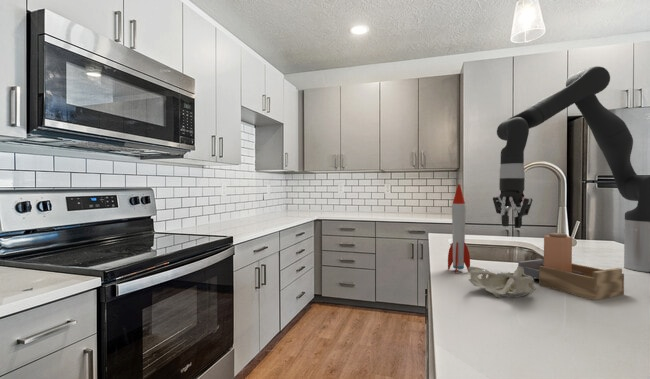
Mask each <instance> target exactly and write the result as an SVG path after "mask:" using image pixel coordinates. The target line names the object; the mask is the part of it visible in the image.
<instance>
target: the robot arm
mask: <svg viewBox="0 0 650 379" xmlns="http://www.w3.org/2000/svg"><path fill="white" fill-rule="evenodd" d="M610 81H611V75H610V72H609V70H608V69H607V68H605V67H604V66H598V65H597V66H591V67H588V68H585V69H583V70H580V71H578V72H575V73H573V74H571V75H570V76H568V78H567V79H566V83H565V87H564V88H562V89H560V90H558V91H556V92H554V93H552V94H550V95H548V96H546V97H544V98H542V99H540V100H538V101H536V102H534V103H532V105H530V106H528V107H527V108H526V109H524V110H522V111H520V112H519V113H517V114H515V115H513V116H511V117H509V118H507V119H505V120H504V121H502V122H501V123H500V124H499V125H498V126H497V128H496V135H497V137H498V139H500V140H503V141H505V142H506V145H505V146H504V147H503V148H501V150H500V162H499V163H500V167H499V186H498V187H499V191H500V194H499V196H496V197H495V196H493V198H492V201H493V205H494V208H495V212H496V214H499V215H501V225H502V227H505V228H506V227H509V225H510V216H509V214H510V211H511V210H512V211H513V213H514V217H513V218H514V220H513V221H514V223H513V224H514V225H513V226H514V227H513V228H515V229H521V227H522V226H523V217H524V216H528V215H529V212H530V209H531V206H532V203H533V198H531V197H526V196H525V194H524V191H525V176H526V175H525V173H526V172H525V171H526V170H525V149H526V146H527V142H528V137H529V135H530V134H529V133H530V132H529V131H530V129H532V128H535V127H537V126H539V125H542V124H543V123H544V122H546V121H549V119H551V118H553V117H554V116H556V115H557V114H559V113H560V112H562V111H564V110H566V109H567V108H569V107H570V106H572V105H575V106H576V107H577V109H578V110H579V112H580V113H581V115H582V118H584V121H585V122H586V124H587V126H588V128H589V129H590V131H591V133H592V135H593V137H594V139H595V141H596V143H597V145H598V147H599V149H600V151H601V153H602V154H603V156H604V158H605V160H606V162H607V165H608V166H609V169H610V171H611V174H612V176H613V180H614V182H615V185H616V188H617V190H618V192H619V194H620V195H621V197H622V198H624V199H625V200H627V201H633V202H637V204H636V205H637V206H636V207H634V208H632V209H631V210H628V211H626V212H625V213H624V239H623V240H624V242H623V244H624V246H623V252H624V253H623V267H624V268H625V269H628V270H632V271H637V272H644V273H645V272H646V273H650V174H637V172H636V171H635V169H634V167H633V166H632V163H631V162H632V161H631V154H632V152H633V148H634V147H633V146H634V139H633V136H632V134H631V131H630V129H629V128H628V126H627V124H626V123H625V121H624V120H623V119H622V118H620V117H619V116H618V115H617V114H615V113H614V112H612V111H611V110H609V109H608V108H606V107H605V106H604V105H603V104H602V103H601V102H600V100H599V98H598V97H597V96H596V94H599V93H601V92H603V91H604V90H606V88H608V86H609V84H610Z"/></svg>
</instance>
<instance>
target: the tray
mask: <svg viewBox="0 0 650 379" xmlns="http://www.w3.org/2000/svg"><path fill="white" fill-rule="evenodd" d="M518 265H519V267H523V268H524V274H526V275H528V276H531V277H533V278H536V279H538V280H539V266H544V259H541V258H539V259H538V258H537V259H532V260H523V261H522V260H521V261H518V264H517V266H518ZM572 273H575V274H579V275H583V273H582V272H578V271H573V270H572Z"/></svg>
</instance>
